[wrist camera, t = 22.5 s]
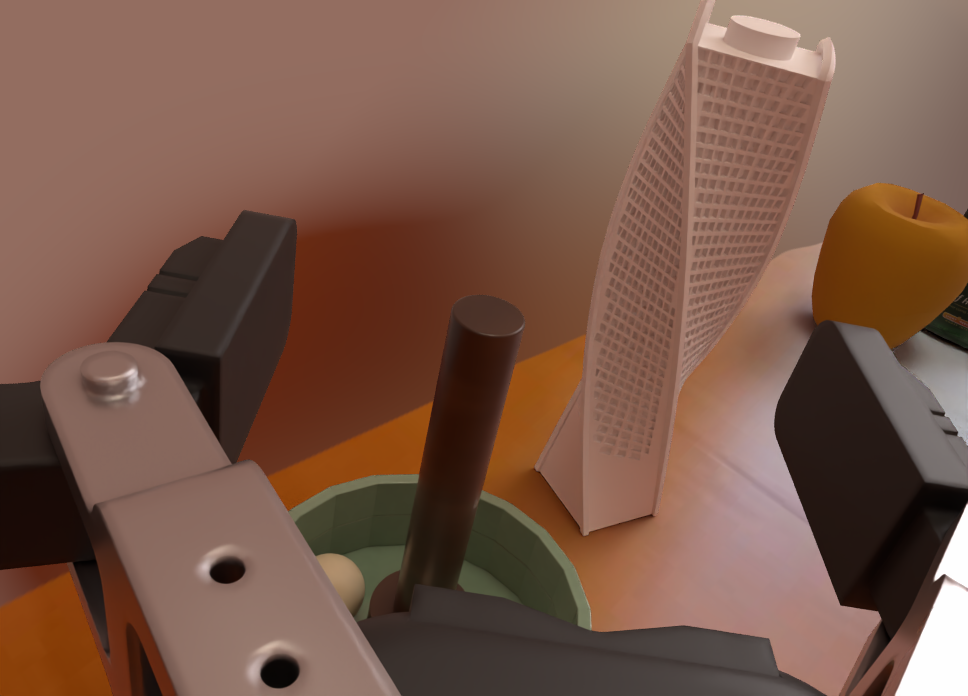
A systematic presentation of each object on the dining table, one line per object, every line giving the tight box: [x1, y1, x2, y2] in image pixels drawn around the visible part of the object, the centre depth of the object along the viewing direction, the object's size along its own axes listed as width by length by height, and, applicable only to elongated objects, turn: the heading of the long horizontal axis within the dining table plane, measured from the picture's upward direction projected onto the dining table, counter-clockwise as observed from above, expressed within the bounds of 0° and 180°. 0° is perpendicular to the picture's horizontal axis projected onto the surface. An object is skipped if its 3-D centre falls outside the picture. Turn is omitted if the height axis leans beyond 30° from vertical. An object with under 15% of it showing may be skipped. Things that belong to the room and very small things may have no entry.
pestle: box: [367, 295, 525, 618], centre depth 31 cm, size 4×4×18 cm
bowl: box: [288, 474, 591, 630], centre depth 35 cm, size 14×14×5 cm
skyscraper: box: [534, 0, 835, 536], centre depth 40 cm, size 8×7×28 cm
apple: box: [812, 183, 968, 349], centre depth 66 cm, size 11×11×13 cm
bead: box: [315, 553, 365, 617], centre depth 36 cm, size 3×3×3 cm
